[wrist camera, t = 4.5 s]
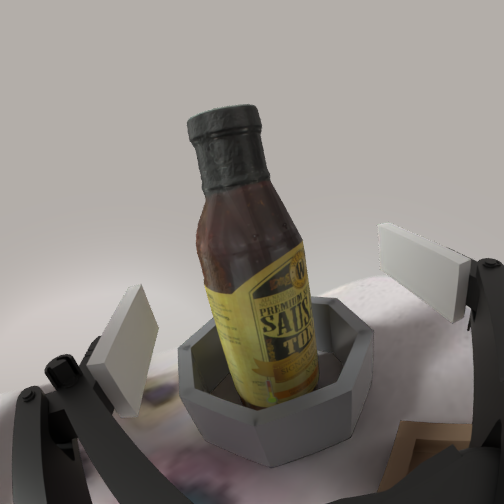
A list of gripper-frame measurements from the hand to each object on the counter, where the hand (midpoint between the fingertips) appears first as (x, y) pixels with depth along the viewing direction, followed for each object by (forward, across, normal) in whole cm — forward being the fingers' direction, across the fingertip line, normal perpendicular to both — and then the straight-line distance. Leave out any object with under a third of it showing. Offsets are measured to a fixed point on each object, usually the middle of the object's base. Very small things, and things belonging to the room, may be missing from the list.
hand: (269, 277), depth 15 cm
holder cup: (+2, -1, -11) cm, 11 cm away
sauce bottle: (+2, -1, -11) cm, 11 cm away
